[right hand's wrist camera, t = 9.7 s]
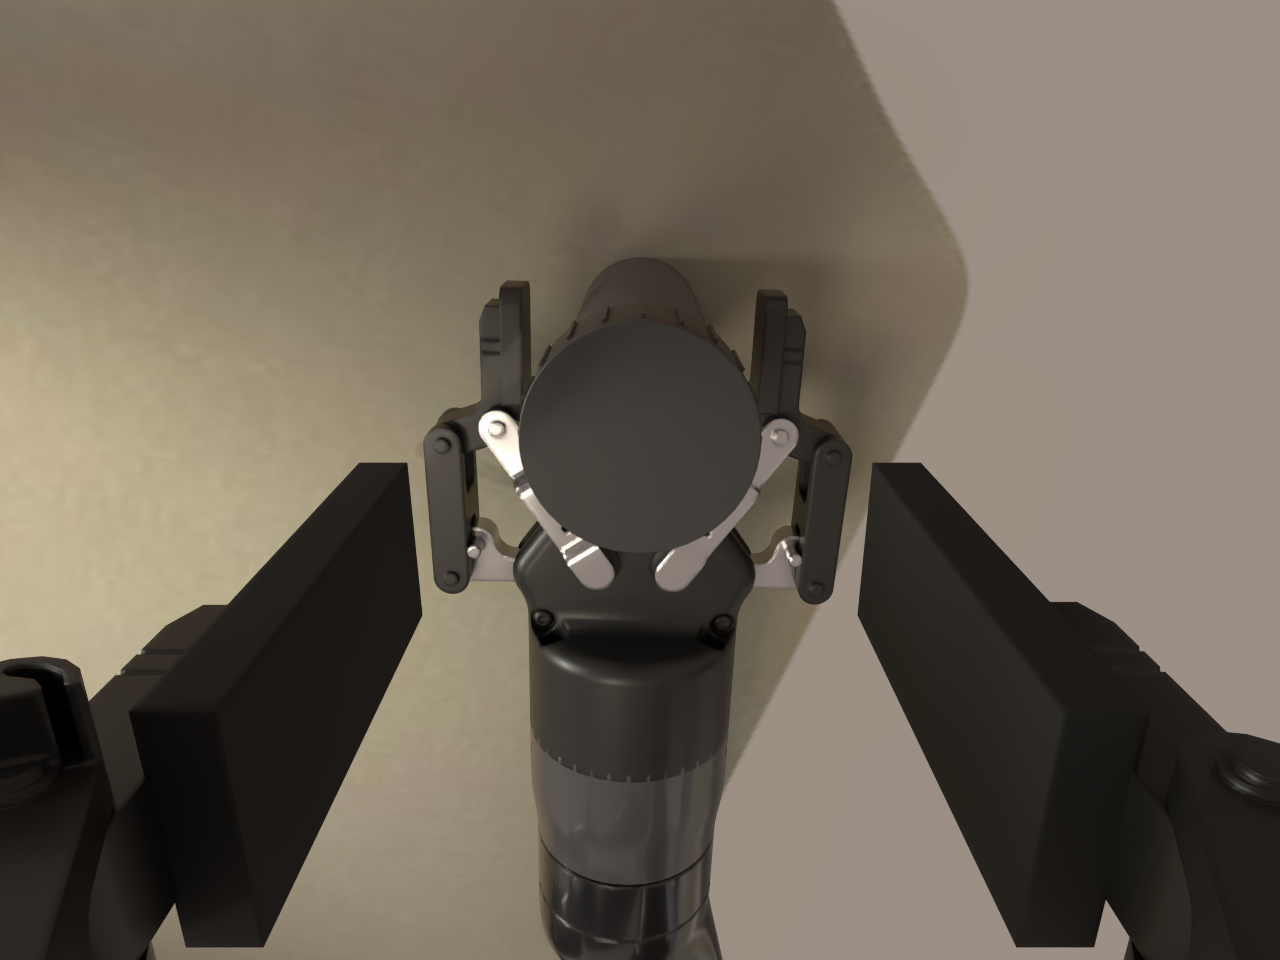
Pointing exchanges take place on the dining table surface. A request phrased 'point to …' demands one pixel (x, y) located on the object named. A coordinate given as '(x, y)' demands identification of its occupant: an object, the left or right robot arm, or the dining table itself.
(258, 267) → the dining table surface
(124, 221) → the dining table surface
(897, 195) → the dining table surface
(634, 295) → the dark grey cylinder
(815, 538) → the left robot arm
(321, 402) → the dining table surface
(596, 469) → the lid
